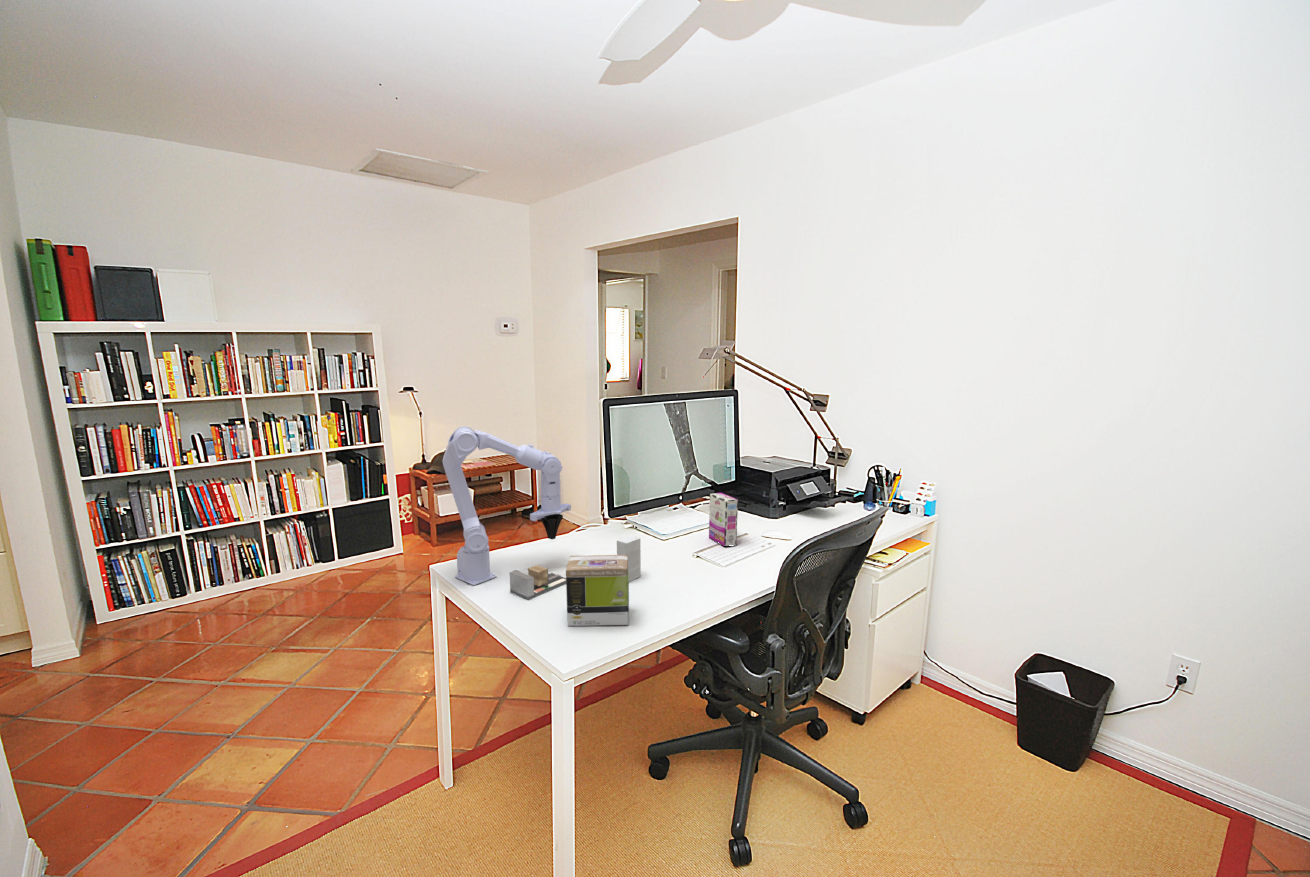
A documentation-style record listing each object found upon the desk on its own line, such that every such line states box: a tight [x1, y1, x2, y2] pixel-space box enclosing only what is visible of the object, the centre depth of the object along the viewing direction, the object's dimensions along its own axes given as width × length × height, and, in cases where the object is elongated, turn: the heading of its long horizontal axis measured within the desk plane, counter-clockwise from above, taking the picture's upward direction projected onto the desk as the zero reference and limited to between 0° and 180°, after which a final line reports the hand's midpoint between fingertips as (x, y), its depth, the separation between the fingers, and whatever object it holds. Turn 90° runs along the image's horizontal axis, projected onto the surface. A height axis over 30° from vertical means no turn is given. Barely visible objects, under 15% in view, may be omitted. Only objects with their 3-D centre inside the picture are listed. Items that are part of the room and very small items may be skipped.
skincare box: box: [616, 534, 642, 582], centre depth 165 cm, size 6×4×12 cm
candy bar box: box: [708, 492, 739, 547], centre depth 196 cm, size 11×5×16 cm, turn 25°
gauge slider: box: [527, 564, 549, 588], centre depth 158 cm, size 4×6×4 cm, turn 52°
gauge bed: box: [509, 569, 566, 601], centre depth 159 cm, size 15×8×6 cm, turn 142°
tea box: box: [565, 554, 630, 627], centre depth 141 cm, size 15×10×15 cm
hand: (551, 538), depth 172 cm, fingers closed
